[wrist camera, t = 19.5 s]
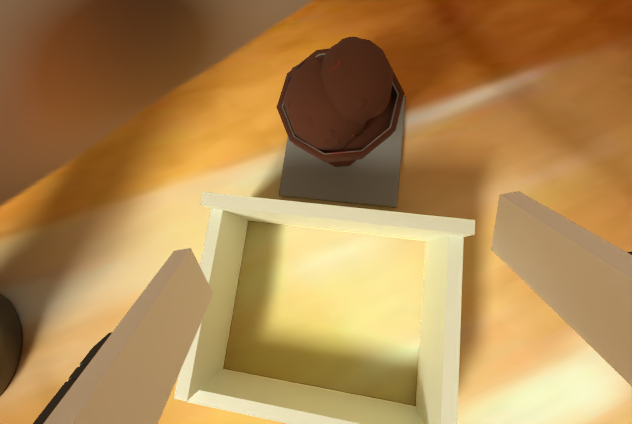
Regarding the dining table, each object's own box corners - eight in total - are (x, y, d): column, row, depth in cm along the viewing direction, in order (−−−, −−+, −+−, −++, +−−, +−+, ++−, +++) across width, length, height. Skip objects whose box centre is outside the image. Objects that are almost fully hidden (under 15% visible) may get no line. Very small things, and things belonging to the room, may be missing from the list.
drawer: (211, 378, 30) (154, 427, 21) (240, 210, 33) (202, 191, 24) (427, 421, 27) (467, 500, 18) (436, 231, 30) (475, 220, 21)
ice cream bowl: (363, 92, 33) (378, -41, 19) (400, 169, 31) (450, 88, 16) (285, 123, 34) (239, 18, 19) (316, 203, 31) (291, 153, 17)
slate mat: (280, 195, 33) (279, 194, 32) (295, 93, 35) (294, 90, 34) (395, 207, 31) (396, 206, 30) (404, 98, 33) (405, 96, 33)
